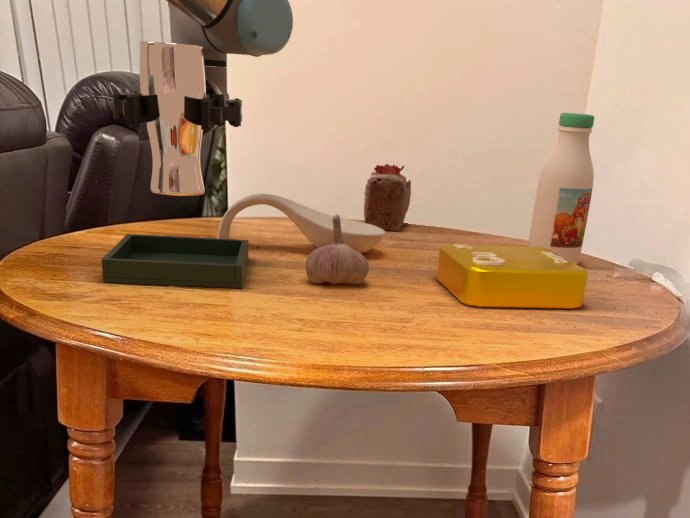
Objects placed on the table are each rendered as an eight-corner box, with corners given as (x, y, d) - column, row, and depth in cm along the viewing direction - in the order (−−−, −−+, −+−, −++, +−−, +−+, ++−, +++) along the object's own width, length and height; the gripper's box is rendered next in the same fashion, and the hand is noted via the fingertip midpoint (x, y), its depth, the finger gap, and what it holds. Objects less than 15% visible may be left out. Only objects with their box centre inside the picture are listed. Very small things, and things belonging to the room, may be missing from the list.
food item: (364, 216, 142) (368, 158, 137) (408, 219, 142) (413, 161, 137) (360, 229, 130) (364, 166, 125) (408, 232, 130) (414, 169, 125)
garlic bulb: (295, 284, 93) (297, 214, 89) (320, 273, 99) (323, 207, 95) (354, 293, 91) (358, 222, 87) (376, 281, 97) (380, 215, 93)
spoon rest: (381, 246, 117) (384, 196, 114) (386, 263, 107) (390, 208, 104) (223, 237, 116) (222, 186, 112) (213, 253, 105) (212, 198, 102)
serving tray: (103, 282, 88) (101, 259, 87) (128, 254, 102) (126, 233, 101) (242, 288, 90) (241, 266, 88) (248, 259, 103) (248, 239, 102)
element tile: (587, 310, 91) (596, 268, 89) (465, 307, 88) (470, 265, 86) (540, 279, 104) (547, 243, 102) (432, 276, 101) (436, 239, 99)
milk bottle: (526, 265, 112) (550, 112, 103) (524, 255, 119) (547, 110, 110) (580, 270, 111) (610, 116, 102) (576, 260, 118) (603, 115, 109)
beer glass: (178, 198, 85) (171, 42, 78) (133, 190, 88) (123, 40, 82) (221, 193, 91) (218, 47, 84) (177, 186, 94) (170, 44, 87)
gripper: (268, 140, 104) (263, 157, 84) (117, 131, 102) (74, 146, 82) (269, 78, 101) (263, 79, 81) (112, 67, 99) (66, 66, 79)
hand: (168, 113), depth 81 cm, fingers closed on beer glass, 7 cm apart
